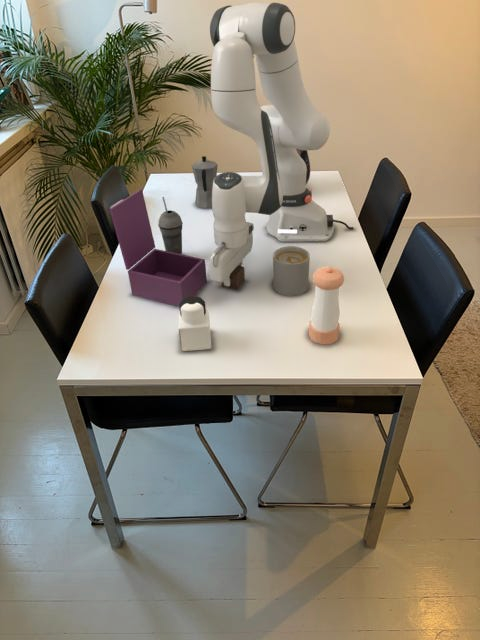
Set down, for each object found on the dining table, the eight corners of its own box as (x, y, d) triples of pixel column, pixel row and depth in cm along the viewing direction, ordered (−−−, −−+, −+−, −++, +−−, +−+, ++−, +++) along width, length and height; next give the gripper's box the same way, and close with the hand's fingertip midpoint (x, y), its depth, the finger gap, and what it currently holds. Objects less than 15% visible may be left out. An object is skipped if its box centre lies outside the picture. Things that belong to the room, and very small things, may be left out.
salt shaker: (344, 337, 122) (352, 269, 111) (321, 348, 119) (327, 280, 108) (325, 322, 127) (330, 256, 116) (302, 333, 124) (306, 266, 113)
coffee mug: (307, 296, 137) (308, 265, 131) (270, 294, 138) (270, 263, 132) (309, 271, 147) (311, 241, 141) (276, 269, 149) (276, 239, 143)
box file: (207, 282, 144) (205, 258, 140) (183, 307, 135) (180, 283, 130) (158, 271, 150) (154, 248, 146) (132, 295, 140) (127, 271, 136)
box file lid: (142, 189, 135) (128, 188, 137) (111, 209, 125) (97, 207, 127) (155, 247, 145) (142, 245, 147) (128, 270, 135) (114, 268, 137)
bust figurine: (182, 333, 126) (176, 293, 118) (210, 331, 126) (206, 291, 119) (181, 351, 120) (176, 311, 113) (211, 349, 120) (207, 308, 113)
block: (244, 281, 144) (244, 266, 141) (237, 290, 140) (236, 275, 138) (229, 278, 146) (228, 263, 143) (221, 286, 142) (220, 271, 139)
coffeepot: (196, 197, 194) (191, 150, 183) (220, 196, 194) (217, 149, 183) (193, 214, 182) (189, 165, 171) (219, 213, 182) (216, 164, 171)
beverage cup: (182, 264, 153) (175, 203, 141) (160, 262, 154) (150, 201, 142) (189, 252, 159) (182, 192, 147) (167, 251, 160) (159, 191, 148)
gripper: (224, 255, 125) (226, 300, 134) (256, 221, 140) (257, 264, 148) (201, 251, 128) (206, 295, 136) (235, 218, 142) (237, 260, 151)
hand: (232, 279), depth 142 cm, fingers closed on block, 5 cm apart
